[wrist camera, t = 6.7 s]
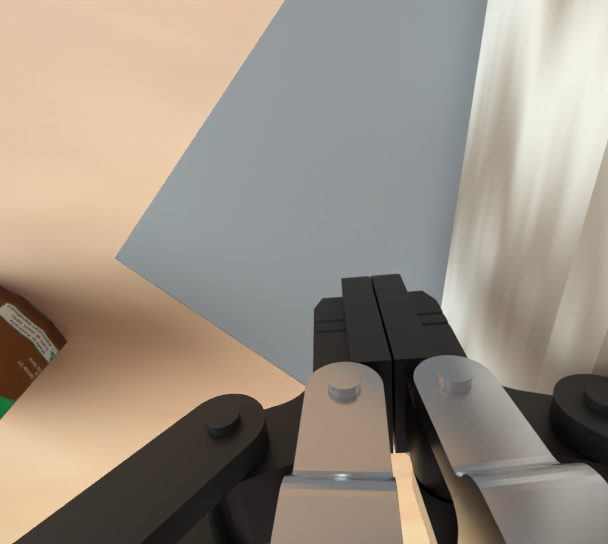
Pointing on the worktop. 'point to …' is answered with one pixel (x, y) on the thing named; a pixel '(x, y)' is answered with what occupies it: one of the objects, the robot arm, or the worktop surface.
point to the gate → (535, 197)
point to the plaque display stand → (319, 170)
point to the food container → (23, 346)
